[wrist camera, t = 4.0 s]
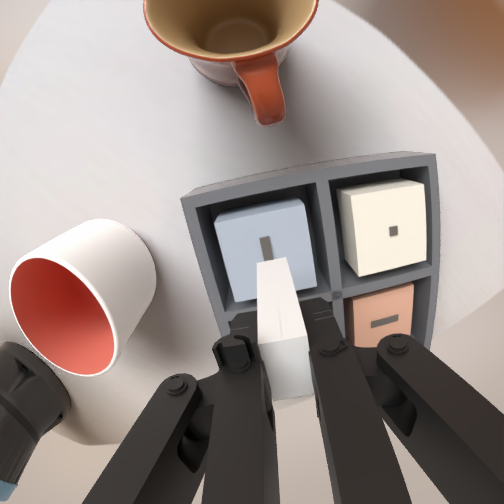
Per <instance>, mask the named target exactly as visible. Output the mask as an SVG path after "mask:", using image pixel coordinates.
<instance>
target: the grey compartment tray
mask: <svg viewBox="0 0 504 504" xmlns="http://www.w3.org/2000/svg"><path fill="white" fill-rule="evenodd" d="M400 178H402V179H406V180H410V181H414V182H418V183H422V184H424V193H425V209H426V260H424V261H421V262H417V263H413V264H409V265H405V266H401V267H397V268H393V269H389V270H385V271H381V272H377V273H373V274H369V275H365V276H360V277H359V276H358V275H357V274H356V273H355V271H354V270H353V269H352V267H351V266H350V265H349V264H348V262H347V261H346V260H345V255H344V245H343V237H342V228H341V220H340V213H339V206H338V199H337V192H336V189H337V188H343V187H349V186H355V185H361V184H367V183H373V182H380V181H386V180H393V179H400ZM294 196H297V197H298V198H299V199H300V200H301V201H302V203H303V204H304V206H305V211H306V217H307V223H308V229H309V235H310V242H311V248H312V255H313V261H314V268H315V275H316V283H317V286H316V287H311V288H306V289H302V290H297V291H296V295H297V298H298V301H303V300H308V299H313V298H318V297H321V298H323V299H324V300H326V301H327V302H328V303H329V305H330V308H331V310H332V312H333V315H334V317H335V319H336V321H337V324H338V326H339V328H340V331H341V333H342V335H343V338H345V339H347V340H348V341H349V339H348V337H347V335H346V332H345V317H344V303H343V298H347V297H352V296H356V295H360V294H364V293H368V292H372V291H376V290H380V289H384V288H388V287H391V286H395V285H399V284H402V283H406V282H410V281H411V282H412V283H413V284H414V293H413V309H412V322H411V332H410V336H411V337H413V338H414V339H416V340H417V341H418V342H419V343H421V344H422V345H423V346H424V347H425V348H427V349H428V350H429V351H430V345H431V339H432V333H433V327H434V319H435V312H436V303H437V293H438V281H439V265H440V201H439V185H438V173H437V163H436V154H432V153H421V152H407V151H400V152H391V153H382V154H374V155H366V156H359V157H352V158H345V159H338V160H332V161H325V162H319V163H313V164H307V165H302V166H296V167H291V168H285V169H280V170H275V171H270V172H265V173H260V174H255V175H251V176H246V177H241V178H237V179H232V180H228V181H224V182H219V183H215V184H211V185H207V186H203V187H199V188H195V189H194V190H192V191H191V192H189V193H188V194H186V195H185V196H183V197H182V198H180V200H181V204H182V207H183V211H184V215H185V218H186V222H187V226H188V229H189V233H190V236H191V240H192V243H193V247H194V250H195V254H196V257H197V260H198V264H199V267H200V270H201V274H202V277H203V280H204V284H205V287H206V290H207V293H208V296H209V299H210V303H211V306H212V309H213V312H214V315H215V318H216V321H217V324H218V327H219V330H220V333H221V336H222V337H224V336H226V335H229V334H230V330H231V321H232V320H233V318H234V317H235V316H236V315H237V314H238V313H244V312H250V311H256V310H257V298H256V299H251V300H245V301H240V302H235V299H234V296H233V292H232V289H231V285H230V281H229V278H228V274H227V270H226V267H225V263H224V259H223V255H222V252H221V248H220V244H219V240H218V236H217V232H216V229H215V225H214V223H215V221H216V219H217V217H218V215H219V213H220V212H222V211H226V210H231V209H235V208H240V207H245V206H249V205H254V204H259V203H264V202H269V201H274V200H278V199H284V198H289V197H294ZM349 342H350V341H349Z"/></svg>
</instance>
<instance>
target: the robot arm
mask: <svg viewBox="0 0 504 504" xmlns="http://www.w3.org/2000/svg"><path fill="white" fill-rule="evenodd" d="M212 350H213V353H214V356H215V358H216V361H217V363H218V366H219V372H217V373H216V374H214V375H212V376H209V377H207V378H204V379H201V380H198V381H196V379H195V378H194V377H193V376H192V375H189V374H185V373H184V374H176V375H173V376H170V377H169V378H167V379H165V380H164V381H163V382H162V383H161V384H160V386H159V387H158V389H157V390H156V392H155V393H154V395H153V396H152V398H151V399H150V401H149V402H148V404H147V405H146V407H145V408H144V410H143V411H142V413H141V414H140V416H139V417H138V419H137V420H136V422H135V423H134V425H133V426H132V428H131V429H130V431H129V432H128V434H127V436H126V437H125V439H124V440H123V442H122V443H121V445H120V446H119V448H118V449H117V451H116V452H115V454H114V455H113V457H112V458H111V460H110V461H109V463H108V464H107V466H106V468H105V469H104V471H103V472H102V474H101V475H100V477H99V478H98V480H97V481H96V483H95V484H94V486H93V487H92V489H91V490H90V492H89V493H88V495H87V497H86V498H85V500H84V501H83V503H82V504H191V503H192V501H193V499H194V496H195V494H196V492H197V490H198V487H199V485H200V483H201V480H202V478H203V476H204V473H205V479H204V486H203V495H202V503H201V504H280V494H279V478H278V461H277V444H276V429H275V413H274V409H273V406H272V399H273V401H276V400H283V399H289V398H295V397H300V396H305V395H310V394H315V399H316V408H317V417H319V421H320V427H321V432H322V437H323V442H324V448H325V452H326V458H327V464H328V469H329V475H330V481H331V486H332V492H333V498H334V504H412V502H411V499H410V496H409V493H408V490H407V487H406V484H405V481H404V478H403V475H402V472H401V469H400V466H399V463H398V460H397V457H396V455H395V452H394V449H393V446H392V444H391V441H390V438H389V436H388V433H387V430H386V428H385V425H384V422H383V420H384V421H385V422H386V424H387V425H388V426H389V427H390V429H391V430H392V431H393V432H394V434H395V435H396V436H397V438H398V439H399V440H400V441H401V443H402V444H403V445H404V446H405V448H406V449H407V450H408V452H409V453H410V454H411V455H412V457H413V458H414V459H415V460H416V462H417V463H418V464H419V465H420V467H421V468H422V469H423V471H424V472H425V473H426V474H427V476H428V477H429V478H430V480H431V481H432V482H433V483H434V485H435V486H436V487H437V488H438V490H439V491H440V492H441V494H442V495H443V496H444V497H445V499H446V500H447V501H448V502H449V504H504V414H503V413H501V412H500V411H499V410H498V409H497V408H496V407H495V406H494V405H492V404H491V403H490V402H489V401H488V400H487V399H486V398H485V397H483V396H482V395H481V394H480V393H479V392H477V391H476V390H475V389H474V388H473V387H472V386H471V385H470V384H468V383H467V382H466V381H465V380H464V379H463V378H461V377H460V376H459V375H458V374H457V373H455V372H454V371H453V370H452V369H451V368H450V367H448V366H447V365H446V364H445V363H443V362H442V361H441V360H440V359H439V358H438V357H436V356H435V355H434V354H433V353H432V352H430V351H429V350H428V349H427V348H425V347H424V346H423V345H422V344H421V343H419V342H418V341H417V340H416V339H414V338H413V337H411V336H409V335H407V334H402V333H396V334H390V335H387V336H385V337H384V338H382V339H381V340H380V341H379V343H378V344H377V347H357V346H353V345H351V343H350V342H349V341H348V340H347V339H345V338H343V335H342V333H341V331H340V328H339V326H338V324H337V321H336V319H335V317H334V315H333V312H332V310H331V308H330V305H329V303H328V302H327V301H326V300H324V299H323V298H321V297H318V298H313V299H308V300H303V301H298V298H297V295H296V291H295V287H294V284H293V280H292V276H291V273H290V269H289V266H288V262H287V259H286V257H284V258H279V259H274V260H269V261H264V262H259V263H257V310H256V311H250V312H244V313H238V314H237V315H236V316H235V317H234V318H233V320H232V321H231V330H230V334H229V335H226V336H224V337H222V338H220V339H219V340H218V341H217V342H216V343H214V346H213V348H212ZM70 408H71V402H70V398H69V396H68V393H67V391H66V390H65V388H64V386H63V385H62V383H61V382H60V380H59V379H58V378H57V377H56V375H55V374H54V373H53V372H52V371H51V370H50V369H49V368H48V367H47V365H45V364H44V363H43V362H42V361H41V360H40V359H39V358H38V357H37V356H35V355H34V354H33V353H32V352H30V351H29V350H27V349H26V348H24V347H22V346H20V345H18V344H16V343H13V342H5V343H3V344H2V345H1V346H0V501H6V500H8V499H9V497H10V496H11V494H12V492H13V491H14V489H15V487H17V486H18V484H17V483H18V481H19V479H20V477H21V475H22V473H23V471H24V468H25V466H26V465H27V463H28V461H29V459H30V457H31V455H32V453H33V451H34V449H35V447H36V445H37V443H38V441H39V440H40V438H41V437H42V436H43V435H44V434H45V433H47V432H48V431H50V430H51V429H52V428H53V427H55V426H56V425H57V424H59V423H60V422H61V421H63V420H64V419H65V417H66V415H67V414H68V412H69V410H70ZM382 418H383V420H382Z"/></svg>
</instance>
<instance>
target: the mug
mask: <svg viewBox="0 0 504 504" xmlns="http://www.w3.org/2000/svg"><path fill="white" fill-rule="evenodd" d="M318 2H319V0H144V3H143V12H144V17H145V20H146V23H147V26H148V28H149V30H150V31H151V32H152V34H153V35H154V36H155V37H156V38H157V40H159V41H160V42H161V43H162V44H163V45H165V46H166V47H168V48H169V49H171V50H173V51H175V52H177V53H179V54H182V55H185V56H187V57H188V58H189V60H190V62H191V63H192V65H193V66H194V68H195V69H196V70H197V71H198V72H199V73H200V74H202V75H203V76H205V77H206V78H208V79H210V80H211V81H212V82H214V83H217V84H221V85H225V86H230V87H239V88H240V89H241V91H242V93H243V94H244V96H245V97H246V99H247V100H248V102H249V104H250V107H251V110H252V112H253V115H254V118H255V121H256V123H257V125H258V126H260V127H270V126H274V125H277V124H280V123H282V122H283V121H284V120H285V117H286V104H285V99H284V95H283V91H282V88H281V84H280V81H279V75H278V68H279V66H280V65H281V64H282V62H283V61H284V59H285V57H286V55H287V52H288V48H289V45H290V44H291V43H292V42H293V41H295V40H296V39H297V38H298V37H299V36H300V35H301V34H302V33H303V32H304V31H305V30H306V28H307V27H308V26H309V24H310V23H311V21H312V20H313V18H314V16H315V14H316V11H317V7H318Z"/></svg>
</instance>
